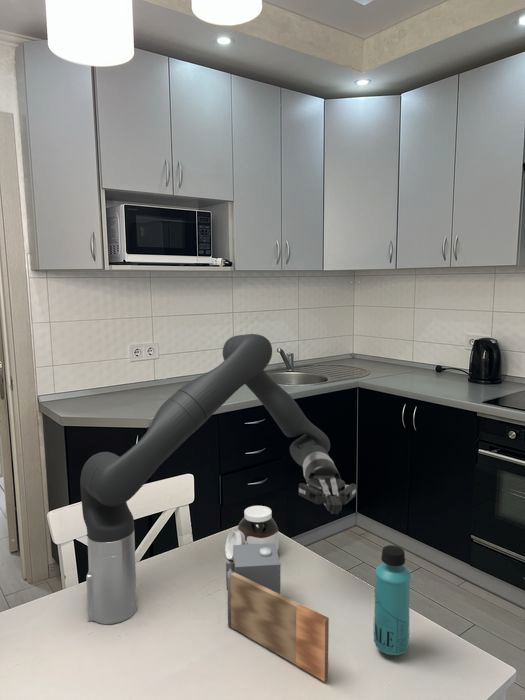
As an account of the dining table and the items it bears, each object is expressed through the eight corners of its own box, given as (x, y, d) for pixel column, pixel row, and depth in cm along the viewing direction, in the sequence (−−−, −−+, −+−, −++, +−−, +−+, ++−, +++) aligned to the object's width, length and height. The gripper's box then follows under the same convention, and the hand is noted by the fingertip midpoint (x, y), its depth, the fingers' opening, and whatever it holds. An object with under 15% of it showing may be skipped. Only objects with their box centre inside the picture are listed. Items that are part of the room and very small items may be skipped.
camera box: (227, 624, 104) (227, 563, 102) (226, 598, 112) (225, 541, 111) (280, 620, 105) (280, 560, 103) (274, 594, 113) (274, 539, 112)
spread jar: (283, 556, 130) (283, 512, 128) (251, 574, 122) (251, 527, 120) (249, 540, 138) (249, 498, 137) (217, 556, 130) (216, 512, 129)
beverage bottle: (410, 644, 98) (413, 543, 95) (407, 668, 91) (411, 560, 89) (374, 636, 100) (377, 537, 97) (370, 659, 94) (372, 554, 91)
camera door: (226, 624, 103) (226, 572, 101) (230, 621, 104) (230, 569, 102) (324, 681, 88) (324, 621, 86) (328, 677, 89) (328, 617, 87)
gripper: (292, 457, 119) (303, 491, 102) (349, 458, 119) (370, 492, 102) (291, 488, 120) (301, 526, 103) (347, 488, 121) (367, 527, 104)
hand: (335, 509), depth 103 cm, fingers closed
